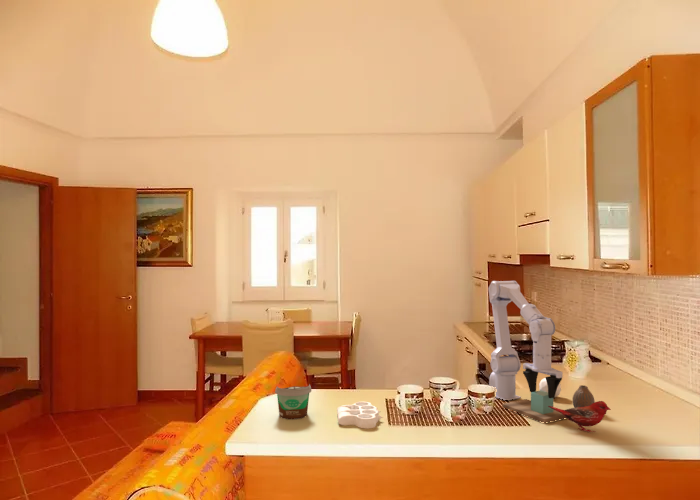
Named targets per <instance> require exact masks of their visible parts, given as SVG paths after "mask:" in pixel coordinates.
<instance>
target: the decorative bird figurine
mask: <svg viewBox="0 0 700 500" xmlns="http://www.w3.org/2000/svg"><path fill="white" fill-rule="evenodd" d="M548 407H550V408H552V409H554V410H556V411H558V412H560V413H562V414H563V415H564V416H565V417H566V418H567V419H566V420H569V421H570V422H572V423H574V424H576V425H577V426H578V428H577V430H580V431H582V432H585V433H586V432H587V433H595V432H596V431H595V430H590V429H589V427H593V426H596V425H598V424H600V423H601V422H602V421H603V420H604V417H605V415H607V412H608V410H609V411H611V408H610V407H609V406H608V405H607V403H606V402H605V401H603V400H599V401H595V402H594V403H593V404H591V405H590V406H585V407H576V408H574V407H572V408H568V409H562V408H558V407H554V406H553V407H552V406H548ZM585 427H588V428H585Z"/></svg>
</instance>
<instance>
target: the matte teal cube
mask: <svg viewBox="0 0 700 500" xmlns="http://www.w3.org/2000/svg"><path fill="white" fill-rule="evenodd" d="M530 401H531V410H532V411H535V412H538V413H541V414H547V413H551V412H553V409H552V408H550V407H548V406H552V407H554V398H549V397H548V392H545V391H542V390H540V389H539V390H536V391H535V392H530Z"/></svg>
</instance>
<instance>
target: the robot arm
mask: <svg viewBox="0 0 700 500" xmlns="http://www.w3.org/2000/svg"><path fill="white" fill-rule="evenodd" d="M488 296H489V302H490V304H491V306H492V307H491V308H492V309H491V310H492V317H493V318H492V319H493V324H494V334H495V341H496V348H495V349H494V350H493V351H492V352H491V353H490V355H491V356H490V359H491V360H490V368H491V370H492V372H491V373H490V375H489V377H488V379H489V380H488V381H489V382H488V386H493V387H496V389H497V392H496V397H495V398H496V399H499V398H500V399H499V400H502V399H503V400H502V401H505V400H508V401H513V400H518V399H522V398H521V397H522V396H520V395H517V394H516V384H517V383H516V380H517V379H516V378H517V377H516V375H518V372H520V370H521V366H522V369H523V371H522V375H524V378H525V380H526V382H527V385H528V389H529V393H531V392H535V391H537V379H538V376H539V373H540V374H542V375H543V374H544V375H546V376H545V378H546V381H547V385H548V397H549V398H553V399H554V397H555V393H556V390H557V387H558V385H559V383H560V384H561V382H562V380H563V378H564V377H563V376H564V375H563V373H564V372H563V371H562V370H558V369H556V368H554V367H552V336H553V335H555V333H556V323H555V322H554V320H553V319H552V318H550V317H547V316H545V315H543V314H542V312H541V311H540V310H539V308H538V307H537V305H535V304H534V303H533V304H532V303H529V301H528V300H527V299H526V297H525V296H524V294H523V293H522V292H521V285H520V284H519V283H518V282H517V281H516V280H503V281H502V280H500V281H499V280H492V281H491V282H490V284H489V286H488ZM511 302H512V303H514V304H515V306H517V308H519V309H520V316H522V318H523V320H525V322H526V323H527V324H528V325H529V326H528V327H529V333H530V336H531V340H532V342H533V343H532V363H529V362H524V363H523V364H522V365H521V360H520V358H519V355H518V353H519V352H518V351H517V350H515V349H514V348H512V342H511V334H510V327H509V320H508V311H507V310H508V309H507V306H508V304H510V303H511ZM555 398H556V397H555ZM512 399H513V400H512Z"/></svg>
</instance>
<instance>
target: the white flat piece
mask: <svg viewBox="0 0 700 500" xmlns="http://www.w3.org/2000/svg"><path fill="white" fill-rule="evenodd" d="M336 413H337V421H338V422H337V423H338V424H339V425H341V426H356V427H358V428H360V429H372V428H373V429H374V428H375V427H377V423H378V422H379V420H381V419H383V418H384V417H383V416H382V415H380V413H381V411H380V410H378V407H376V406H375V405H372V403H371V402H368V401H357V402H354V403H353V404H344V405H340V406H338V407H337V408H336Z"/></svg>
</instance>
